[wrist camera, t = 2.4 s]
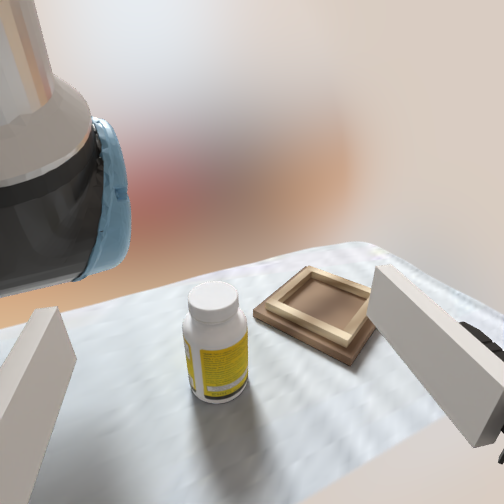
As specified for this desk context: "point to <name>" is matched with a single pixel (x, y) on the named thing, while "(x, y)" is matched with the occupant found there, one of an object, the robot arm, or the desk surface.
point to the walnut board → (321, 312)
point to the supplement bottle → (216, 342)
